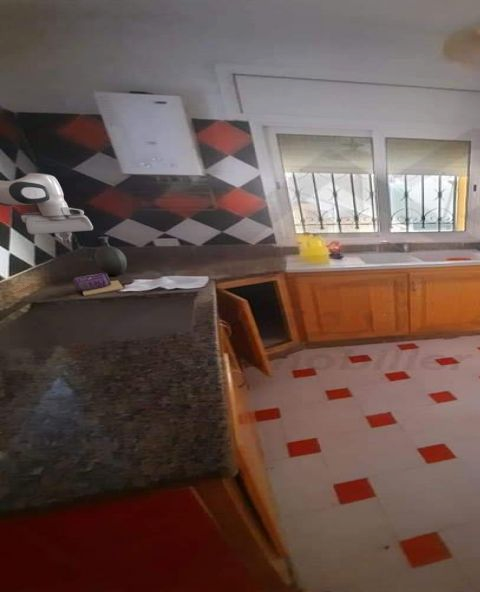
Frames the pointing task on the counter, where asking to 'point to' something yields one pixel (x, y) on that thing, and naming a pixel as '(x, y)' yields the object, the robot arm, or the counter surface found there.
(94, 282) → the beverage can
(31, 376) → the counter surface
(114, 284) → the mat
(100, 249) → the flask
